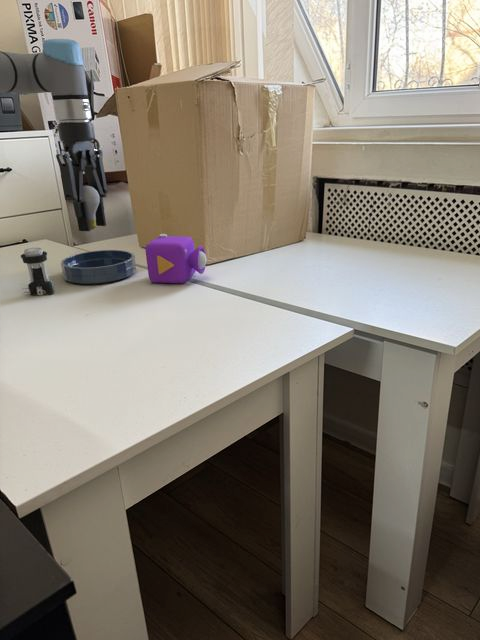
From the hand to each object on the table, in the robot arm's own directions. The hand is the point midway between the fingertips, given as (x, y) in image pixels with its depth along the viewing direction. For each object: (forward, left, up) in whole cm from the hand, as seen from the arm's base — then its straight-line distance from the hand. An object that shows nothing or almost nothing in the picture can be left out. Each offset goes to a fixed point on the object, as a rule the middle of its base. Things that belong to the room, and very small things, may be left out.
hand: (93, 227), depth 121 cm
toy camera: (+21, +2, -12) cm, 24 cm away
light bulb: (0, 0, -1) cm, 1 cm away
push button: (-5, -16, -12) cm, 21 cm away
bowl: (0, 0, -12) cm, 12 cm away
